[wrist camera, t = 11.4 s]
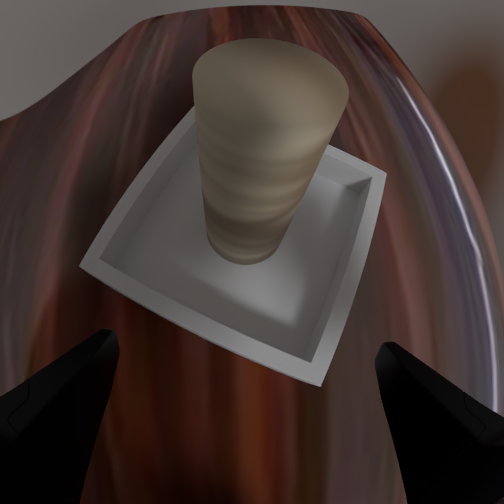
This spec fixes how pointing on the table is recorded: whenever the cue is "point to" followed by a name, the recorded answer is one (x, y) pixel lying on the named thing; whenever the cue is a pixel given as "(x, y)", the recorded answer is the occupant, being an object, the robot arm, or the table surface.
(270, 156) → the birch peg
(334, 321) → the grey bin
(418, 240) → the table surface
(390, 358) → the robot arm
